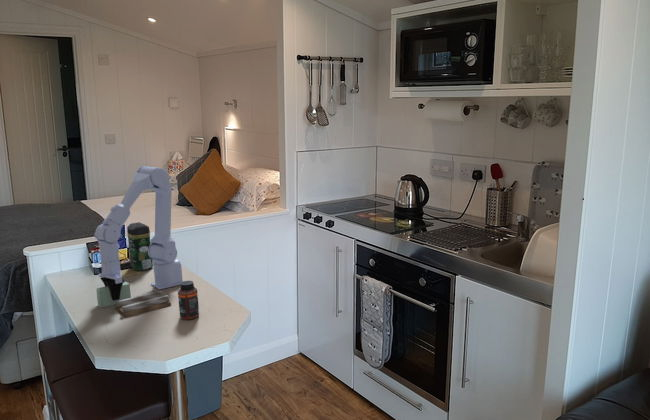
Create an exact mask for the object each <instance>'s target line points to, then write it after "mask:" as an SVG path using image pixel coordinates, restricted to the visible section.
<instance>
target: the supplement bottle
mask: <svg viewBox="0 0 650 420" xmlns="http://www.w3.org/2000/svg"><path fill="white" fill-rule="evenodd" d="M179 286H180V289H178V291H177V296H178V308H179V309H178V310H179V318H180V319H182V320H186V321H188V320H194V319H197V318H198V317H199V316H200V306H199V295H198V294H199V293H198V289H197V288H196V287H195V283H194V280H184V281H183V282H181V283H180V285H179Z"/></svg>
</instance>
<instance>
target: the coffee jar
mask: <svg viewBox="0 0 650 420" xmlns="http://www.w3.org/2000/svg"><path fill="white" fill-rule="evenodd" d="M126 231H127V232H126V233H127V239H128V250H129V261H130V267H131V268H132V269H133V270H134V271H138V272H139V271H147V270H150V269H152V268H154V267H153V262H152V258H150V257H149V255H148V249H149V246H150V241H151V231H150V226H148V225H147V224H145V223H142V222H140V221H139V222H133V223H132V222H131V223H130V224H129V225H128V226H127V227H126Z"/></svg>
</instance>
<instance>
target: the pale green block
mask: <svg viewBox="0 0 650 420" xmlns="http://www.w3.org/2000/svg"><path fill="white" fill-rule="evenodd" d="M95 290H96V297H97V299H96V300H97V306H98V307H99V308H101V309H104V308H106V307H110V306H115V305H116V301H120V300H123V299H127V298H131V297H132V295H131V285H130V282H128V281H124V283H123V285H122V287H121V292H120V299H118V300H114V301H113V300H112V297H111V293H110V290H109V288H108V286H105V285H104V286H102V287H98V288H97V287H96V289H95Z"/></svg>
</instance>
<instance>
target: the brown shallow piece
mask: <svg viewBox="0 0 650 420" xmlns="http://www.w3.org/2000/svg"><path fill="white" fill-rule="evenodd" d="M171 305H172V302H171V301H170V297H169V295H168V294H164V295H163V292H162V289H161V290H159V289H158V290H157V291H152V292H148V293H144V294H140V295H136V296H131V298H127V299H123V300H120V301H116V304H115V305H114V308H115V309H116V310H117V311H118V312H119V313H120V314H121V315H122V316H124V317H125V318H129V317H133V316H136V315H139V314H143V313H146V312H147V313H148V312H150V311H154V310H158V309H161V308H165V307H166V308H167V307H168V306H171Z"/></svg>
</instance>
